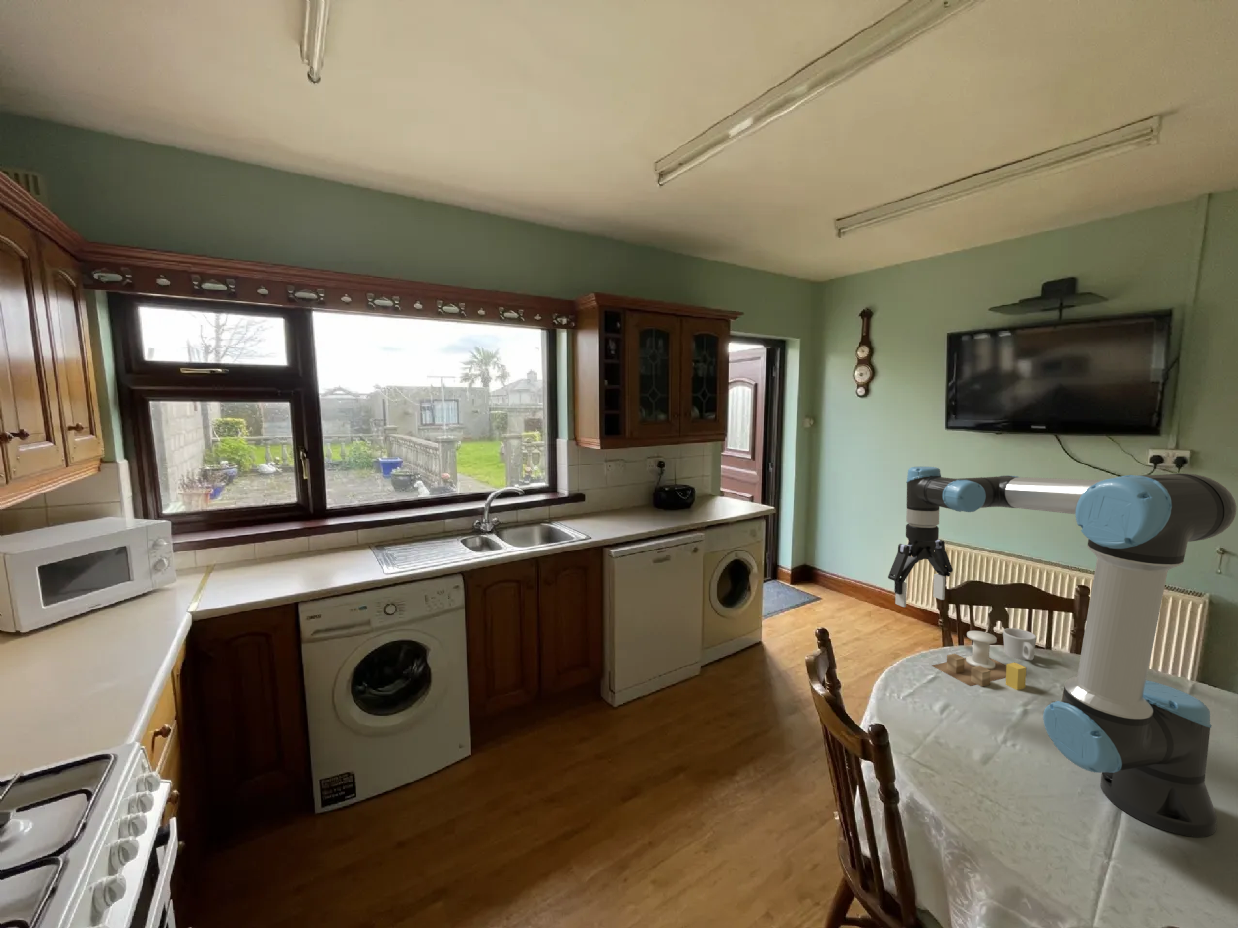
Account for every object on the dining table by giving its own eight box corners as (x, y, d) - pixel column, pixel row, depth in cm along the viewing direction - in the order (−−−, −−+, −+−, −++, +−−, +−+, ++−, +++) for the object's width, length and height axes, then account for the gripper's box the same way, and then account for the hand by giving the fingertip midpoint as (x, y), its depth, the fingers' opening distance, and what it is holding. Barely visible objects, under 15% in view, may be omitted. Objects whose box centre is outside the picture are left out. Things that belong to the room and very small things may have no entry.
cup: (1047, 670, 146) (1048, 644, 145) (1015, 668, 147) (1017, 642, 147) (1025, 653, 156) (1026, 628, 156) (996, 651, 158) (997, 627, 157)
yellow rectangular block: (1025, 692, 135) (1026, 667, 135) (1016, 694, 134) (1018, 669, 134) (1013, 686, 138) (1014, 662, 137) (1005, 688, 137) (1006, 664, 137)
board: (1028, 679, 141) (1029, 661, 141) (974, 692, 136) (975, 674, 135) (982, 658, 154) (983, 641, 154) (931, 669, 148) (931, 652, 148)
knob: (1001, 667, 146) (1002, 638, 145) (983, 671, 144) (984, 642, 143) (977, 656, 153) (979, 629, 152) (960, 660, 151) (961, 632, 150)
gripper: (943, 517, 142) (941, 591, 144) (874, 526, 134) (872, 603, 136) (969, 522, 135) (967, 599, 137) (897, 532, 127) (896, 613, 129)
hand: (920, 601), depth 136 cm, fingers open, 13 cm apart
